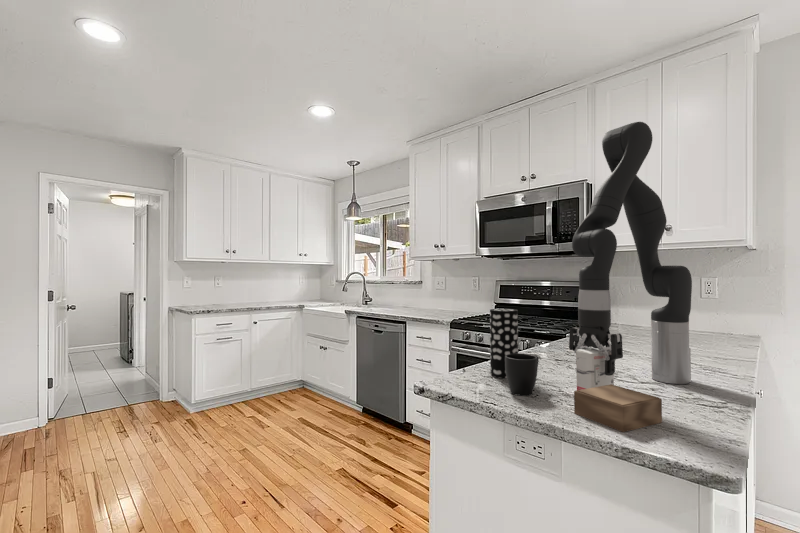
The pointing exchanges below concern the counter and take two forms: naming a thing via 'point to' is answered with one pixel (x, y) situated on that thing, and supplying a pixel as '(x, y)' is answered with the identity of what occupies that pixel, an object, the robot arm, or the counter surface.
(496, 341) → the white-spotted black cylinder
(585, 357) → the ink box
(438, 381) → the counter surface
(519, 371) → the mug
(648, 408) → the brown flat block
